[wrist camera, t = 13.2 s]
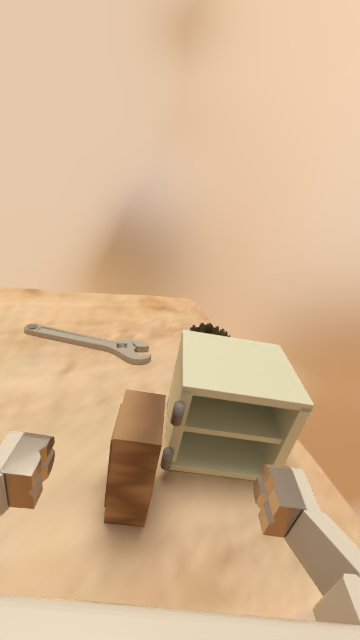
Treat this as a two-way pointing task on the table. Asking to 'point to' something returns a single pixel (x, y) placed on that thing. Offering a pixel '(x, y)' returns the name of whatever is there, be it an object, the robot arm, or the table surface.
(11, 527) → the table surface
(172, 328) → the table surface
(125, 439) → the brown wooden tall block
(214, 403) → the cabinet
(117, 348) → the adjustable wrench
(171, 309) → the table surface
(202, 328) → the brown hollow round piece
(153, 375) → the table surface
